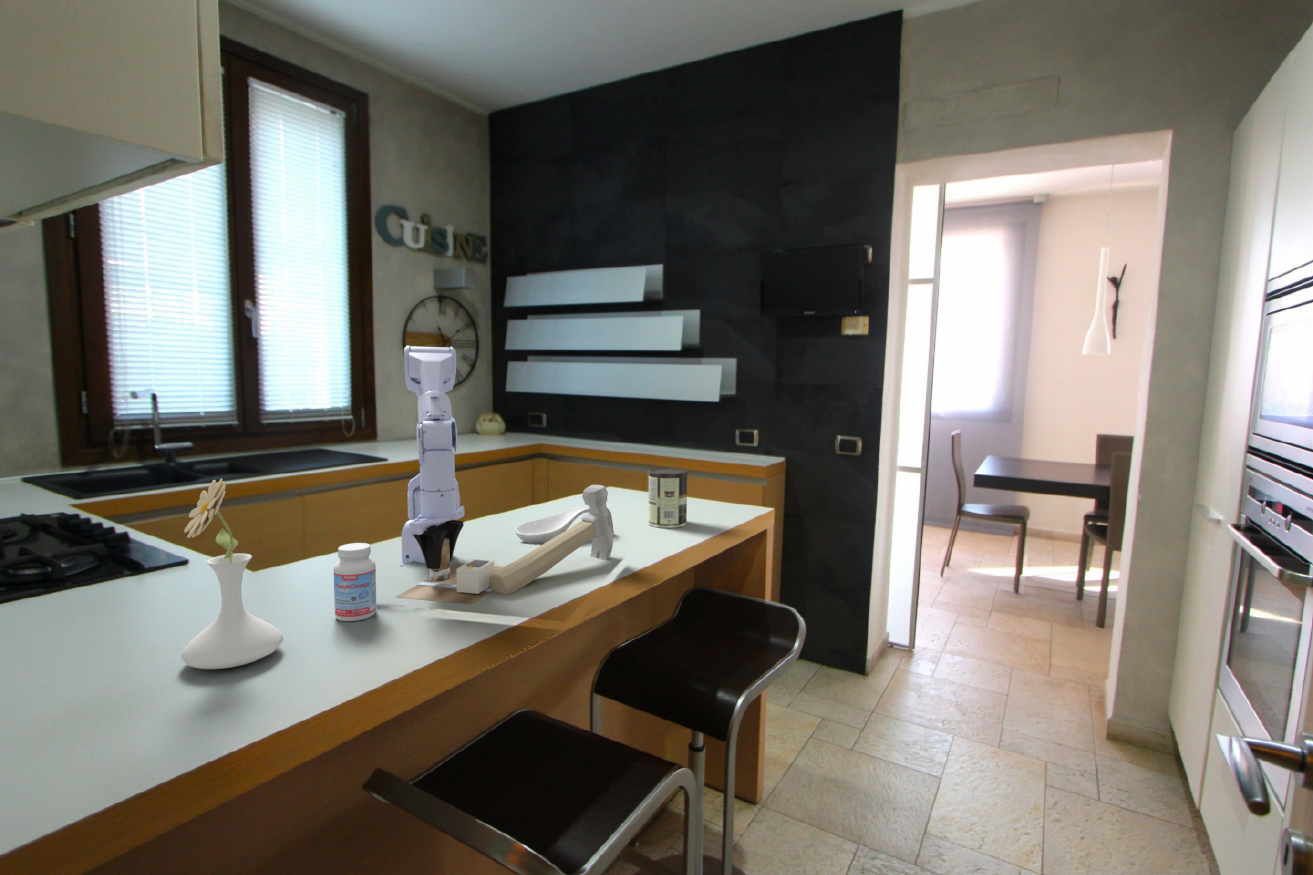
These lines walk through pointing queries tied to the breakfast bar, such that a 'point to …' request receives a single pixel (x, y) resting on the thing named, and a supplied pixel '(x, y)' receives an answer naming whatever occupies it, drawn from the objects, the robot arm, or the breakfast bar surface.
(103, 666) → the breakfast bar surface
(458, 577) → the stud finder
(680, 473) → the coffee can
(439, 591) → the board
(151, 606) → the breakfast bar surface
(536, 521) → the spoon rest
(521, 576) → the hammer
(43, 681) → the breakfast bar surface
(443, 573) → the tan rounded cylinder
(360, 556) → the pill bottle
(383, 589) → the breakfast bar surface
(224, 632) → the flower in vase
